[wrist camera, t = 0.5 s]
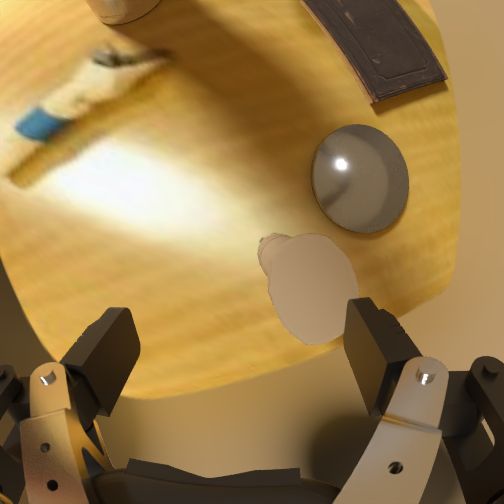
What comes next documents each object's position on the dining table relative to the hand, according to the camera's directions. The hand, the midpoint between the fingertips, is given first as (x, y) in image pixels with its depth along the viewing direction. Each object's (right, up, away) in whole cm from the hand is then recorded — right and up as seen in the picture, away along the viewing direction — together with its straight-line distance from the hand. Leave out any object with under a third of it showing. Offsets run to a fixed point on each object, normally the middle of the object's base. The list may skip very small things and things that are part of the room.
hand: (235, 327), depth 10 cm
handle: (+3, +3, +20) cm, 21 cm away
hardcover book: (+16, +33, +17) cm, 41 cm away
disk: (+13, +11, +20) cm, 26 cm away
